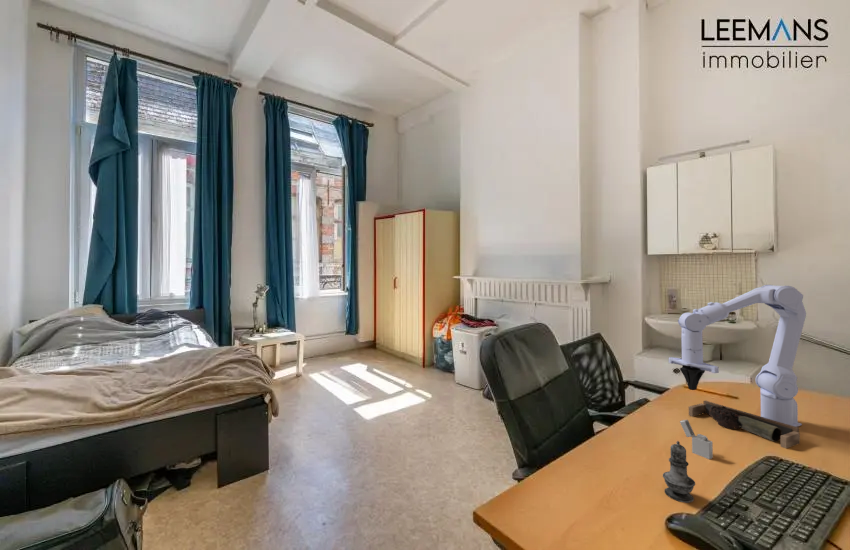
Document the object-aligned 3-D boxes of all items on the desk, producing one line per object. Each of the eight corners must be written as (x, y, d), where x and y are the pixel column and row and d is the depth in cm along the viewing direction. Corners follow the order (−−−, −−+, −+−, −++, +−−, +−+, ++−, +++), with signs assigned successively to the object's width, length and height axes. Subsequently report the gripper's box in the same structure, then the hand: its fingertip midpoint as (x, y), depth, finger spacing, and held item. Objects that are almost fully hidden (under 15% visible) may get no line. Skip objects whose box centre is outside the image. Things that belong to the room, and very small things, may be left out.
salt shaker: (656, 488, 81) (655, 435, 81) (680, 486, 82) (679, 434, 82) (676, 504, 76) (676, 448, 75) (702, 502, 76) (702, 446, 76)
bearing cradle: (703, 411, 124) (703, 399, 124) (801, 442, 101) (801, 428, 101) (688, 415, 121) (688, 403, 121) (786, 448, 98) (786, 433, 98)
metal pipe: (782, 441, 103) (782, 421, 103) (767, 445, 101) (767, 425, 101) (716, 417, 120) (715, 400, 120) (701, 420, 118) (701, 403, 117)
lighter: (713, 457, 94) (712, 427, 94) (709, 459, 93) (709, 428, 93) (683, 446, 100) (683, 417, 100) (679, 447, 99) (679, 419, 99)
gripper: (662, 345, 125) (663, 384, 125) (708, 354, 111) (709, 397, 111) (675, 344, 127) (676, 382, 128) (722, 352, 114) (723, 394, 114)
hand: (692, 389), depth 120 cm, fingers closed
